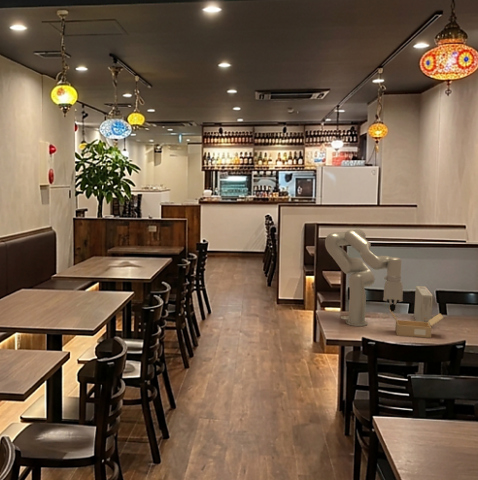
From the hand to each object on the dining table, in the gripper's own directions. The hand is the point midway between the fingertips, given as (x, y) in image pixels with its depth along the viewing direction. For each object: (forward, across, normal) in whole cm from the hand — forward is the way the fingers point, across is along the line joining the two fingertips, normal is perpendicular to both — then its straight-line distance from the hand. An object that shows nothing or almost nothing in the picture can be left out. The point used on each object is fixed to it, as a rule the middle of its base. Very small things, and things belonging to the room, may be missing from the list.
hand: (392, 311), depth 303 cm
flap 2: (+6, +20, 0) cm, 21 cm away
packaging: (+13, +21, +30) cm, 39 cm away
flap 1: (+6, +3, 0) cm, 7 cm away
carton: (+13, +12, 0) cm, 17 cm away
